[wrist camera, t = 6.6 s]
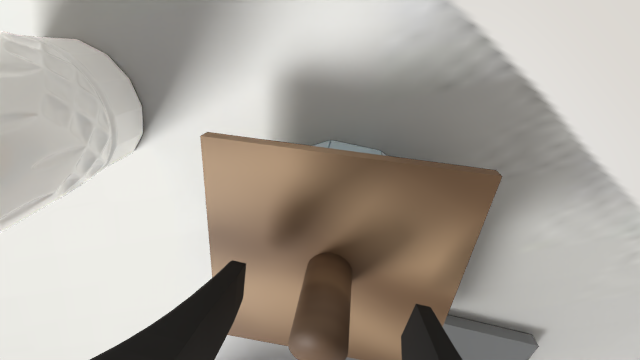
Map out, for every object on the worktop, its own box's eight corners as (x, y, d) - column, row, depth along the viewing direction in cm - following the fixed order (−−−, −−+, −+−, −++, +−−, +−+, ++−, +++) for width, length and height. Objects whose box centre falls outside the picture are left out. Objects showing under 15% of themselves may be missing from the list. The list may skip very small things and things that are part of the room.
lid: (423, 361, 17) (442, 464, 13) (221, 324, 18) (179, 408, 14) (495, 170, 12) (567, 239, 8) (207, 131, 13) (132, 175, 9)
